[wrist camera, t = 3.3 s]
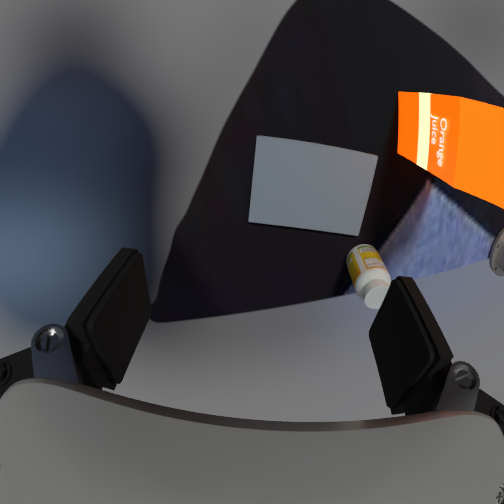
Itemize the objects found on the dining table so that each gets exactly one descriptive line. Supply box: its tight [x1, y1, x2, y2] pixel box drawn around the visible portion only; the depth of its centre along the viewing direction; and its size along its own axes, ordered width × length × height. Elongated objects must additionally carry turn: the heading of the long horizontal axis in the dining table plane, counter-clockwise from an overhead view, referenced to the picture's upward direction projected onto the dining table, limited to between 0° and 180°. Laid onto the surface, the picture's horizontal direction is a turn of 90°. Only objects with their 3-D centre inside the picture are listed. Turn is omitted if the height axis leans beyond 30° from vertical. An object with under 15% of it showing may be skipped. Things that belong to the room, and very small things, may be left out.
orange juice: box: [398, 92, 504, 209], centre depth 22 cm, size 8×9×20 cm
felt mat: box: [249, 136, 378, 236], centre depth 36 cm, size 16×12×1 cm
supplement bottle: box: [346, 244, 391, 309], centre depth 38 cm, size 5×5×10 cm
